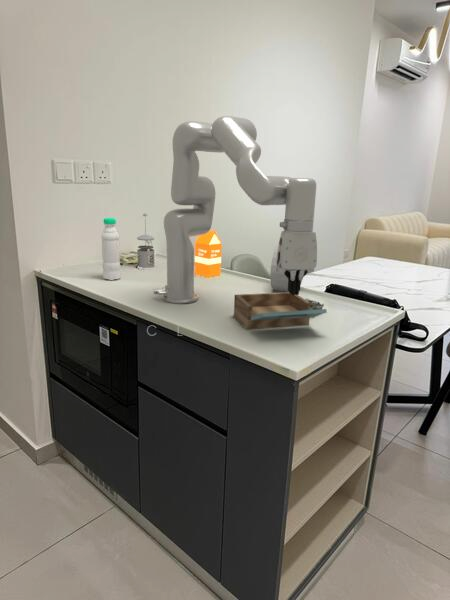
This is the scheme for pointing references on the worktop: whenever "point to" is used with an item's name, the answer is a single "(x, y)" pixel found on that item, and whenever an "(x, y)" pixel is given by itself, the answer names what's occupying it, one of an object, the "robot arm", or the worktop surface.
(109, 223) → the water bottle
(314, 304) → the egg carton
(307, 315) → the light blue flat panel
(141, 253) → the french press
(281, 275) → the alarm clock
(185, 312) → the worktop surface
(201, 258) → the orange juice
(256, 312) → the wooden open box
